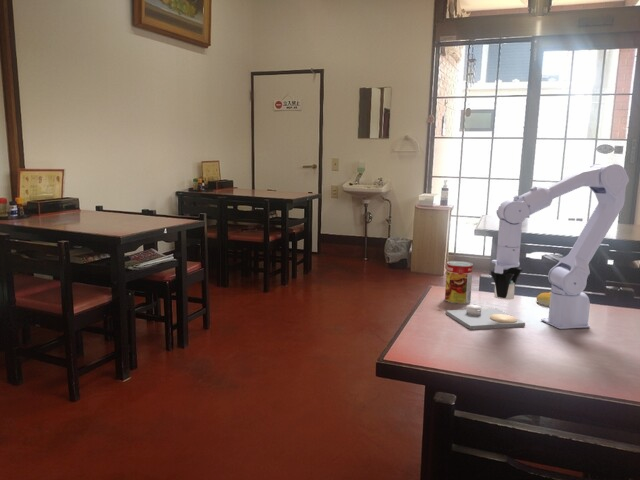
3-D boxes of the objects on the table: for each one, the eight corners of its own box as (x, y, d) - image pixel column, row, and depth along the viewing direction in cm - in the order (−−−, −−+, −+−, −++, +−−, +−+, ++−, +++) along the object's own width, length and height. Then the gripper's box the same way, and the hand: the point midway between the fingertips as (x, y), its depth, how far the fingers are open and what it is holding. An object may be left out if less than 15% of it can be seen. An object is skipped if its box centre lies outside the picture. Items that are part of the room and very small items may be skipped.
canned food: (446, 296, 162) (448, 260, 160) (471, 298, 159) (473, 262, 158) (443, 302, 155) (445, 264, 153) (469, 304, 152) (472, 266, 150)
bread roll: (530, 302, 157) (531, 289, 157) (553, 300, 160) (554, 288, 160) (550, 309, 150) (551, 296, 149) (573, 307, 152) (574, 294, 152)
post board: (495, 311, 146) (496, 301, 145) (524, 326, 132) (525, 315, 132) (445, 313, 142) (446, 303, 142) (470, 329, 129) (471, 318, 128)
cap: (517, 297, 134) (518, 280, 133) (508, 300, 131) (509, 282, 130) (500, 294, 138) (500, 277, 137) (490, 297, 134) (491, 279, 134)
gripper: (502, 241, 140) (498, 288, 142) (484, 247, 129) (480, 297, 131) (528, 244, 136) (524, 292, 138) (512, 250, 124) (508, 302, 126)
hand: (504, 295), depth 134 cm, fingers closed on cap, 5 cm apart
